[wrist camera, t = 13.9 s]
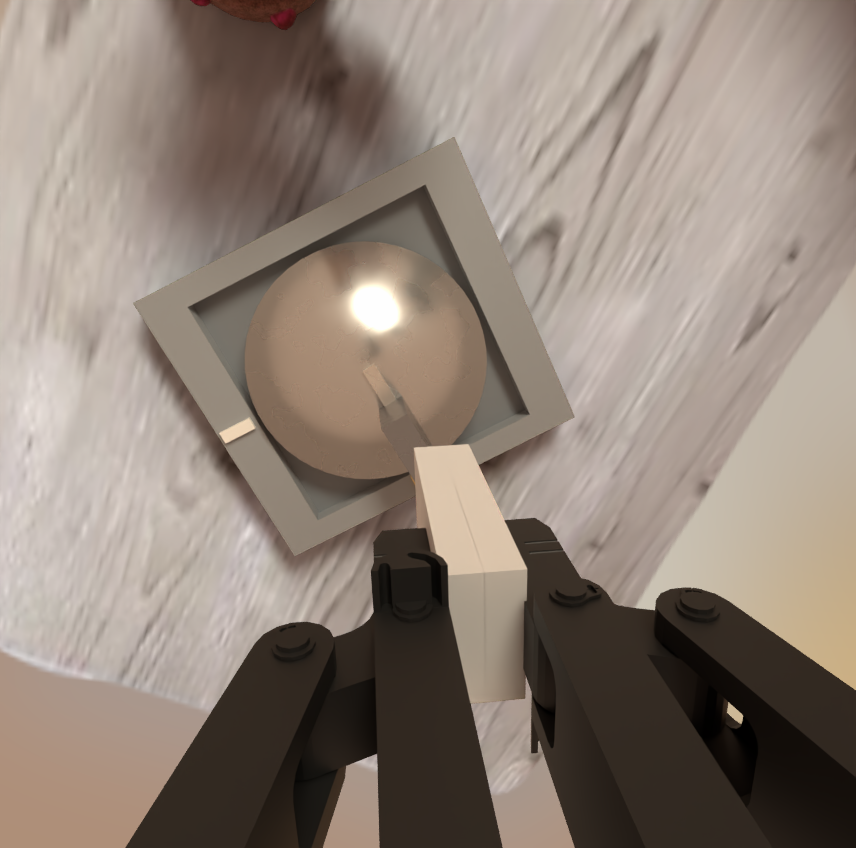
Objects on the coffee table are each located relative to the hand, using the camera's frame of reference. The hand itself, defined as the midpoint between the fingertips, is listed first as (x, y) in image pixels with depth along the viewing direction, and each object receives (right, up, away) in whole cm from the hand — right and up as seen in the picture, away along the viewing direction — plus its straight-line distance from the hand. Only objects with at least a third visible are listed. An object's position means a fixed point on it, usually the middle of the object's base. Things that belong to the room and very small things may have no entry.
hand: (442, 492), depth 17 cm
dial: (-4, +6, +21) cm, 22 cm away
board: (-4, +6, +23) cm, 24 cm away
